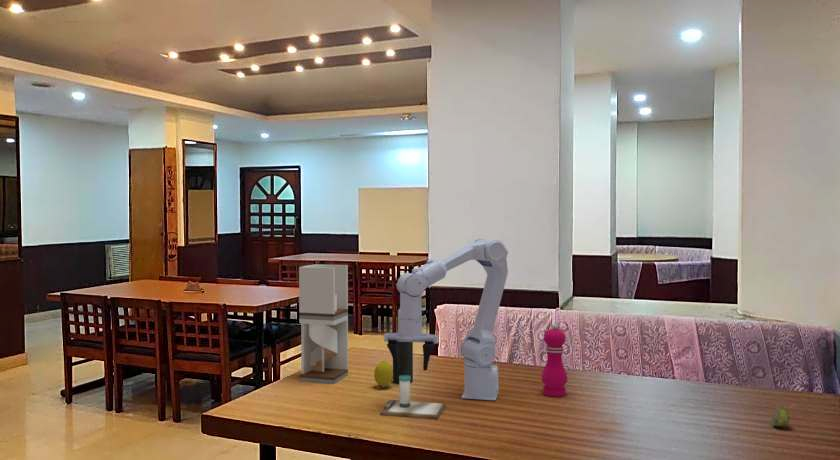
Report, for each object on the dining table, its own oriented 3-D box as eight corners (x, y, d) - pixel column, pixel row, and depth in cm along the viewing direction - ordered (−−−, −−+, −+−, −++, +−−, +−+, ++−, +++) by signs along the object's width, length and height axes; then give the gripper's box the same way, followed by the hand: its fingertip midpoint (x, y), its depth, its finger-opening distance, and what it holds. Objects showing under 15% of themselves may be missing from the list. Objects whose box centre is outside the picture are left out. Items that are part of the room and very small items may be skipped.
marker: (411, 404, 163) (411, 375, 163) (409, 408, 160) (409, 378, 160) (400, 404, 164) (400, 374, 164) (398, 407, 161) (397, 377, 161)
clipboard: (445, 405, 165) (445, 400, 165) (437, 419, 154) (437, 413, 154) (391, 402, 168) (391, 397, 168) (380, 414, 157) (379, 409, 157)
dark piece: (391, 383, 187) (391, 300, 186) (399, 379, 191) (399, 298, 191) (406, 385, 185) (405, 301, 184) (414, 381, 189) (414, 299, 188)
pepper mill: (565, 390, 179) (566, 321, 179) (568, 397, 172) (569, 326, 171) (540, 389, 180) (540, 321, 179) (542, 396, 173) (542, 325, 172)
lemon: (392, 390, 179) (392, 362, 179) (373, 390, 179) (373, 362, 179) (393, 385, 185) (393, 358, 185) (375, 385, 185) (375, 358, 185)
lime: (780, 431, 146) (780, 410, 145) (763, 424, 150) (763, 404, 150) (795, 429, 147) (795, 408, 147) (778, 422, 152) (778, 402, 151)
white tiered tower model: (299, 381, 189) (299, 267, 188) (315, 372, 199) (314, 264, 198) (333, 384, 186) (333, 268, 185) (348, 375, 196) (347, 265, 195)
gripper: (380, 320, 162) (381, 371, 163) (434, 321, 159) (435, 374, 160) (387, 315, 169) (388, 364, 170) (439, 317, 166) (440, 367, 166)
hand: (411, 368), depth 165 cm, fingers open, 7 cm apart
